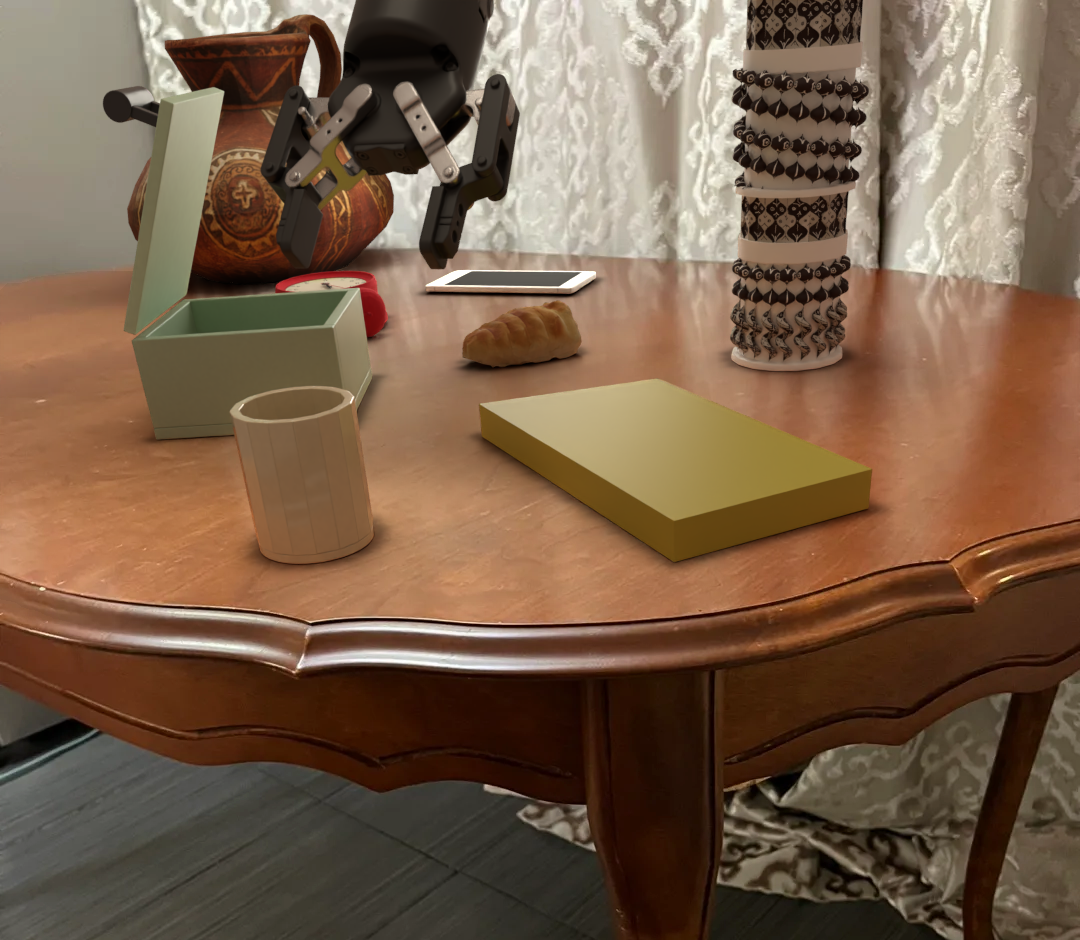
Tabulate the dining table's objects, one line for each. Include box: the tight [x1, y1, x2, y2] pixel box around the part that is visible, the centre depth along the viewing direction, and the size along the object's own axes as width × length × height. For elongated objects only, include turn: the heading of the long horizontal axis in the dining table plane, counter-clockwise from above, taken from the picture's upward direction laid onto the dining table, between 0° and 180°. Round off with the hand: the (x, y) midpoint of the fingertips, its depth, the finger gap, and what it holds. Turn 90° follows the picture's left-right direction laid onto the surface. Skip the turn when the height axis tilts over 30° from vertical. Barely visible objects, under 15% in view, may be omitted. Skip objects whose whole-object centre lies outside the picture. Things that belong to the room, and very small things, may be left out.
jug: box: [126, 13, 395, 285], centre depth 125 cm, size 30×30×25 cm
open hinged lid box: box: [131, 288, 373, 441], centre depth 81 cm, size 14×13×7 cm
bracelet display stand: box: [729, 0, 870, 372], centre depth 79 cm, size 9×9×25 cm
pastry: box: [461, 299, 583, 368], centre depth 90 cm, size 9×7×4 cm
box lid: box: [102, 85, 224, 336], centre depth 75 cm, size 14×13×5 cm
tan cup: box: [230, 386, 375, 565], centre depth 59 cm, size 6×6×8 cm
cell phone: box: [425, 269, 597, 295], centre depth 114 cm, size 8×16×1 cm, turn 69°
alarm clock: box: [274, 270, 389, 338], centre depth 101 cm, size 10×6×15 cm
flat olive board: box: [478, 378, 873, 563], centre depth 66 cm, size 12×2×24 cm
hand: (361, 260), depth 61 cm, fingers open, 8 cm apart
